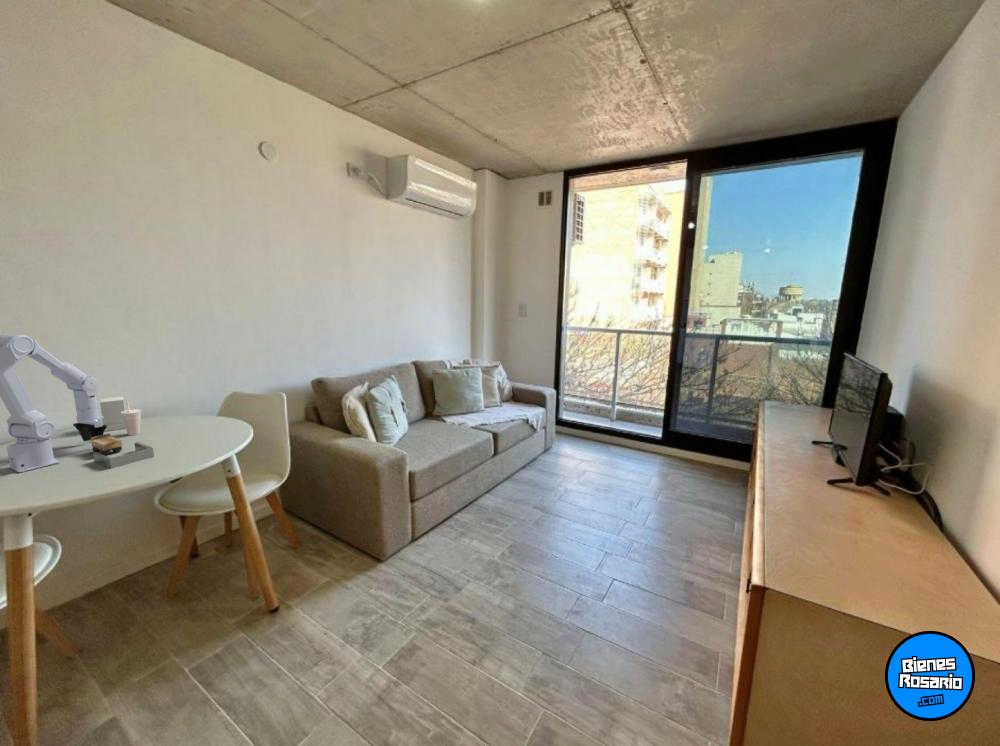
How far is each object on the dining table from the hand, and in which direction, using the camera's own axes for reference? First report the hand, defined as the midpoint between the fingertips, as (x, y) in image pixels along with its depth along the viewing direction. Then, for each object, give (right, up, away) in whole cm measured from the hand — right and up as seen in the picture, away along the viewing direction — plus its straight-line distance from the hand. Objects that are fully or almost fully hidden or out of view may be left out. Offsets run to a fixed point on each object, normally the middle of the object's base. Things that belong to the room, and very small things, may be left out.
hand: (92, 442), depth 152 cm
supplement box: (-11, +2, +21) cm, 23 cm away
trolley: (+10, -3, -4) cm, 11 cm away
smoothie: (+3, +1, +14) cm, 15 cm away
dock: (+21, -4, -9) cm, 23 cm away
